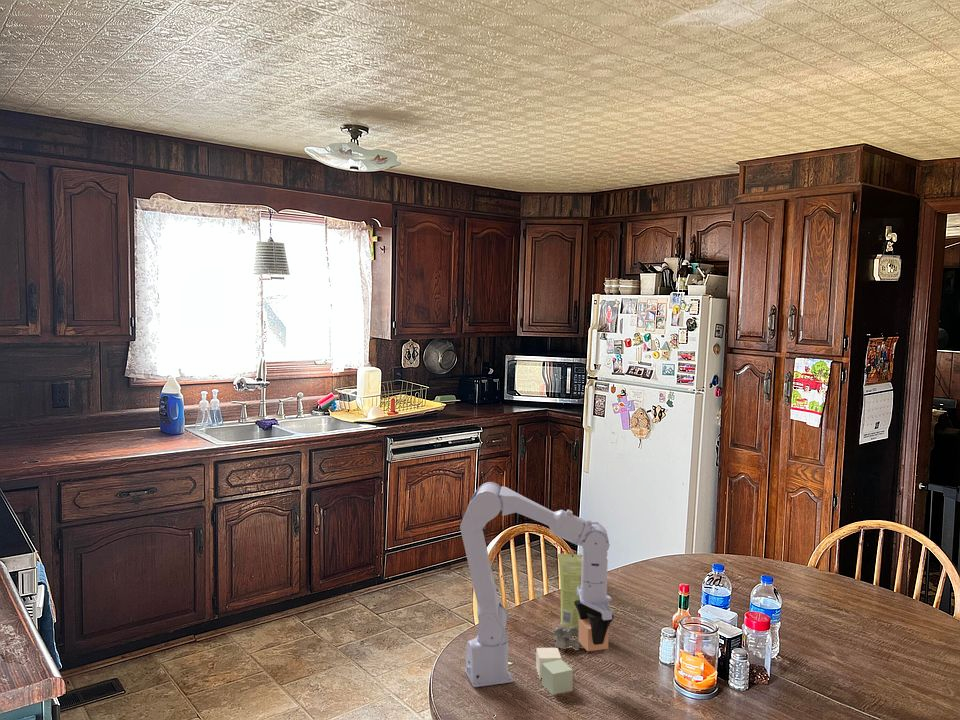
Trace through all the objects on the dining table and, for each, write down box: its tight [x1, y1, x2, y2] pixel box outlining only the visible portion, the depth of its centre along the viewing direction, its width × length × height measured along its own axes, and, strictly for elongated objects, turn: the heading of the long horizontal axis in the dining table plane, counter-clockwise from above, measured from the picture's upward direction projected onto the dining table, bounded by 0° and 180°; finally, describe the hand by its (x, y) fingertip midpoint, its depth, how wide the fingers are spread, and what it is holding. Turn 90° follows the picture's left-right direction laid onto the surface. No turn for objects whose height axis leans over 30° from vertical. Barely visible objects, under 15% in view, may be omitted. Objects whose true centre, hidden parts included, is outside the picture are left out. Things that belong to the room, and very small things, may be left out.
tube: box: [557, 553, 583, 627], centre depth 192 cm, size 6×5×20 cm
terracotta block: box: [578, 619, 610, 652], centre depth 162 cm, size 5×5×5 cm
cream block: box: [535, 647, 562, 679], centre depth 167 cm, size 5×5×5 cm
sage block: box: [541, 659, 574, 696], centre depth 160 cm, size 5×5×5 cm
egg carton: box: [553, 625, 583, 650], centre depth 182 cm, size 11×8×4 cm
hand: (592, 638), depth 162 cm, fingers closed on terracotta block, 5 cm apart
